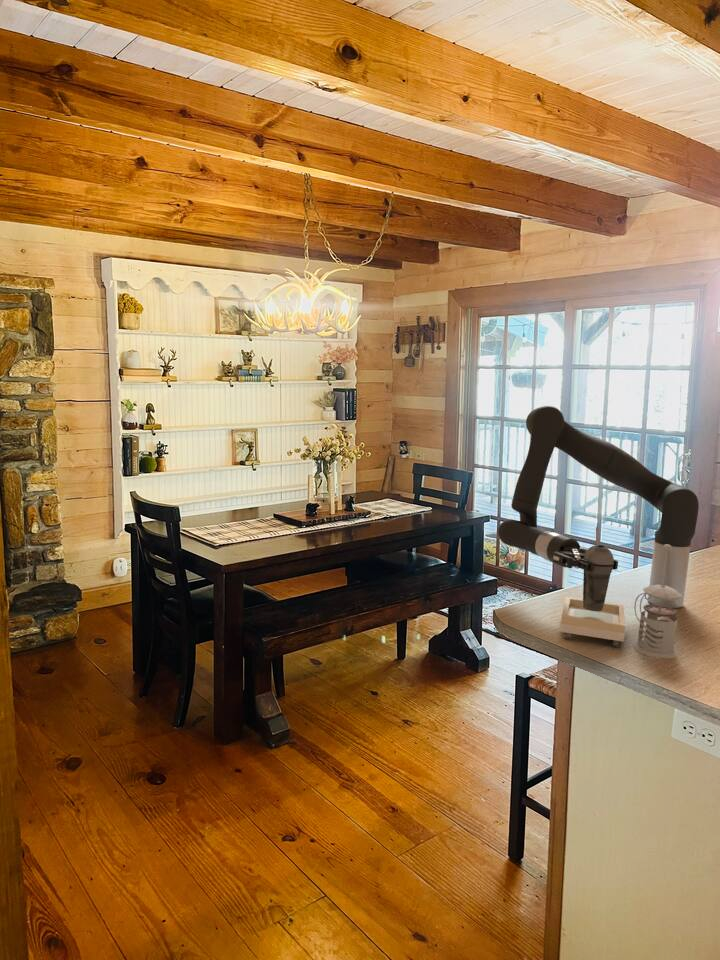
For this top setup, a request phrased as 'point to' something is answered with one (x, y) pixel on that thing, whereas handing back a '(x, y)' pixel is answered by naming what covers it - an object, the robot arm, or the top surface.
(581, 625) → the caster cart
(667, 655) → the french press
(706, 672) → the top surface
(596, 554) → the beverage cup
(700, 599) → the top surface
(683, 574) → the robot arm
